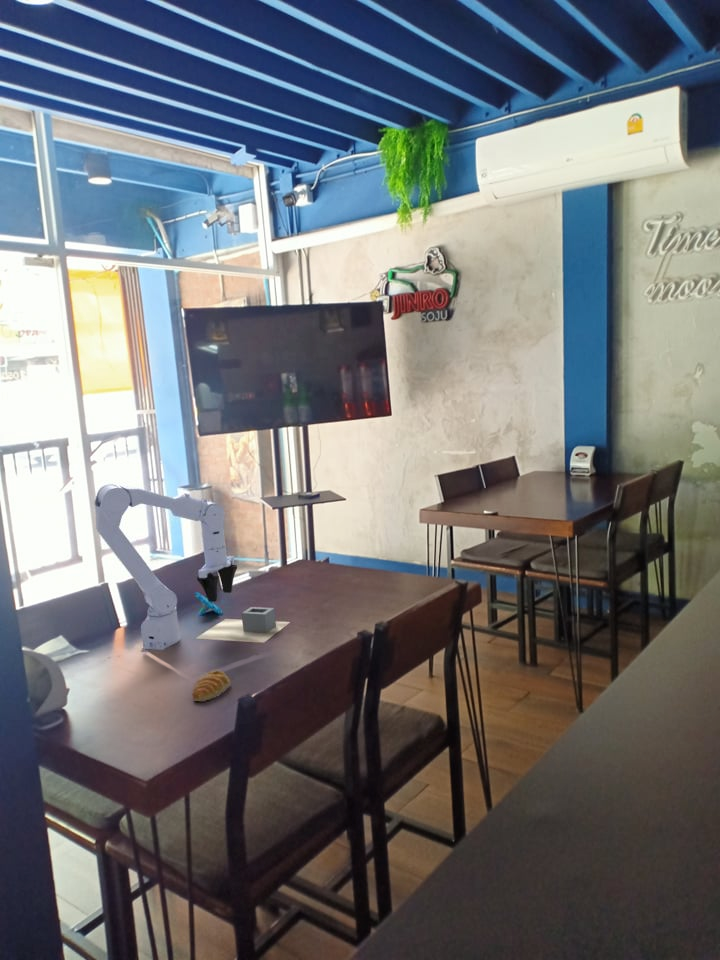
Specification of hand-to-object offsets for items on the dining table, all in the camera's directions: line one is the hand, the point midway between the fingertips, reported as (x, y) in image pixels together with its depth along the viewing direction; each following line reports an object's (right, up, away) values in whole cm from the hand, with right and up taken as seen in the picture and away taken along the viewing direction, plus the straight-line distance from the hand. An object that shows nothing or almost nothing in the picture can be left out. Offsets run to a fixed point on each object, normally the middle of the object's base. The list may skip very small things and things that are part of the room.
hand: (220, 596), depth 197 cm
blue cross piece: (-6, -8, +15) cm, 18 cm away
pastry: (+5, -15, -38) cm, 41 cm away
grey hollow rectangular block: (+11, -8, -3) cm, 14 cm away
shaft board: (+7, -9, -3) cm, 12 cm away
